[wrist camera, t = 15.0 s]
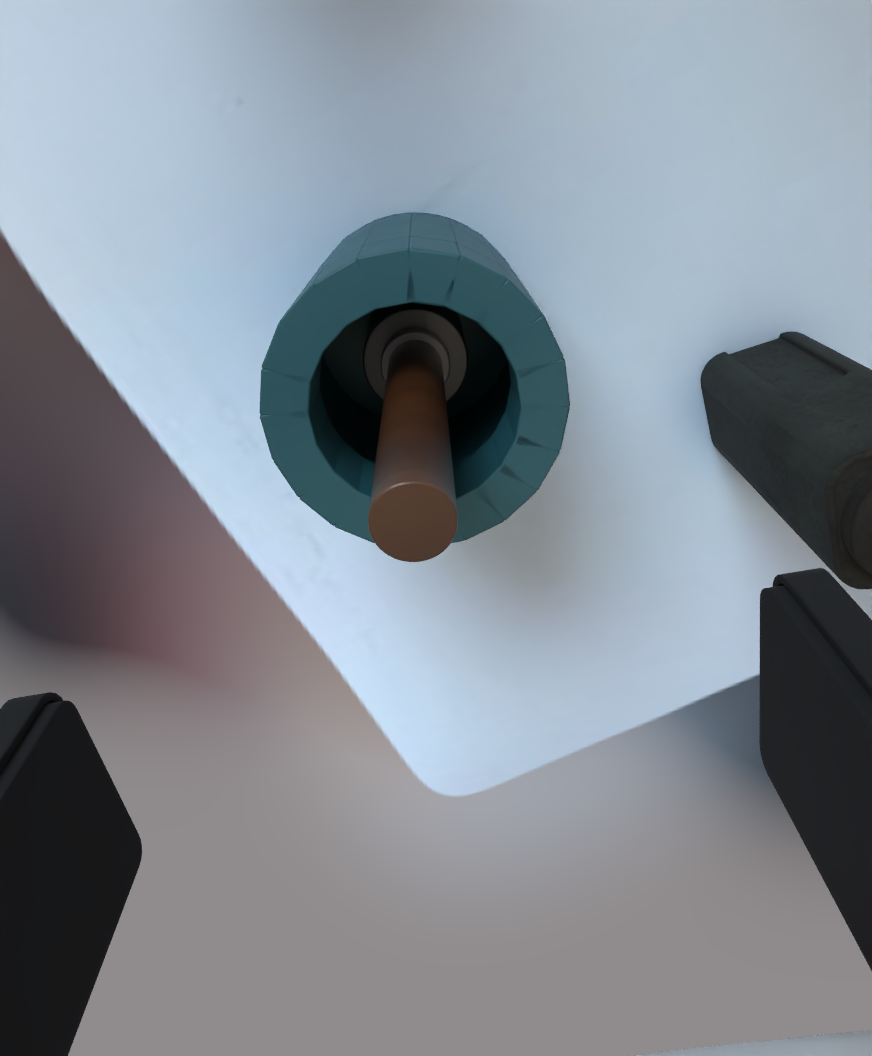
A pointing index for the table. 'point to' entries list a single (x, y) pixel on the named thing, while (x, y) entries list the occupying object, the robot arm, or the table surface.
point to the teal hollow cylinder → (355, 410)
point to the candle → (801, 441)
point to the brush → (414, 427)
